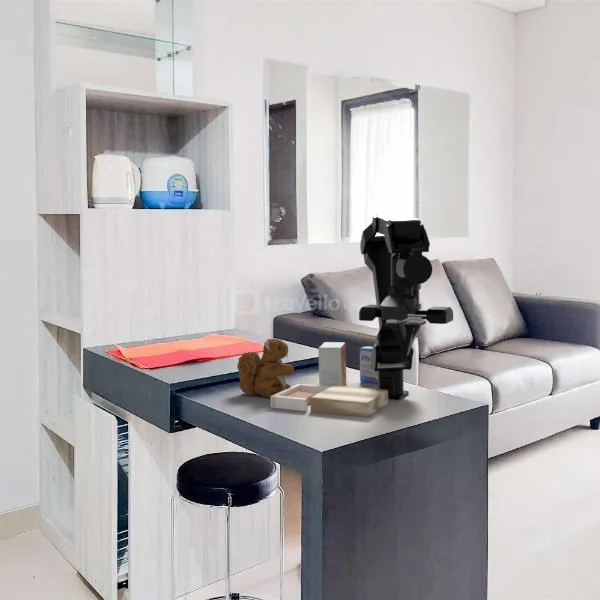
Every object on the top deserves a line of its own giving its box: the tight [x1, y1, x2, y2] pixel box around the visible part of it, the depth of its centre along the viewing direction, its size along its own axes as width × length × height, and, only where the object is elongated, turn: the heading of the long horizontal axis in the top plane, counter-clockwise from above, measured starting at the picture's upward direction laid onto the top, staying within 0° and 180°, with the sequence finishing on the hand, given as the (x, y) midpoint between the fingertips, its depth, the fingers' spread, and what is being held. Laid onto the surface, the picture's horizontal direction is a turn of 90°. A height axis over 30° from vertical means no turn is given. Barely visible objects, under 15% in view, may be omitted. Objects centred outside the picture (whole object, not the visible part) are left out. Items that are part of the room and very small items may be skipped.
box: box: [270, 383, 330, 412], centre depth 163 cm, size 13×8×2 cm, turn 152°
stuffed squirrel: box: [237, 338, 295, 399], centre depth 171 cm, size 10×14×13 cm
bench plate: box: [310, 385, 389, 418], centre depth 157 cm, size 12×13×3 cm
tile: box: [286, 391, 316, 405], centre depth 163 cm, size 5×5×2 cm
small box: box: [317, 341, 347, 387], centre depth 176 cm, size 8×6×10 cm
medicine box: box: [359, 345, 379, 385], centre depth 180 cm, size 8×4×9 cm, turn 56°
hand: (405, 355), depth 151 cm, fingers closed
